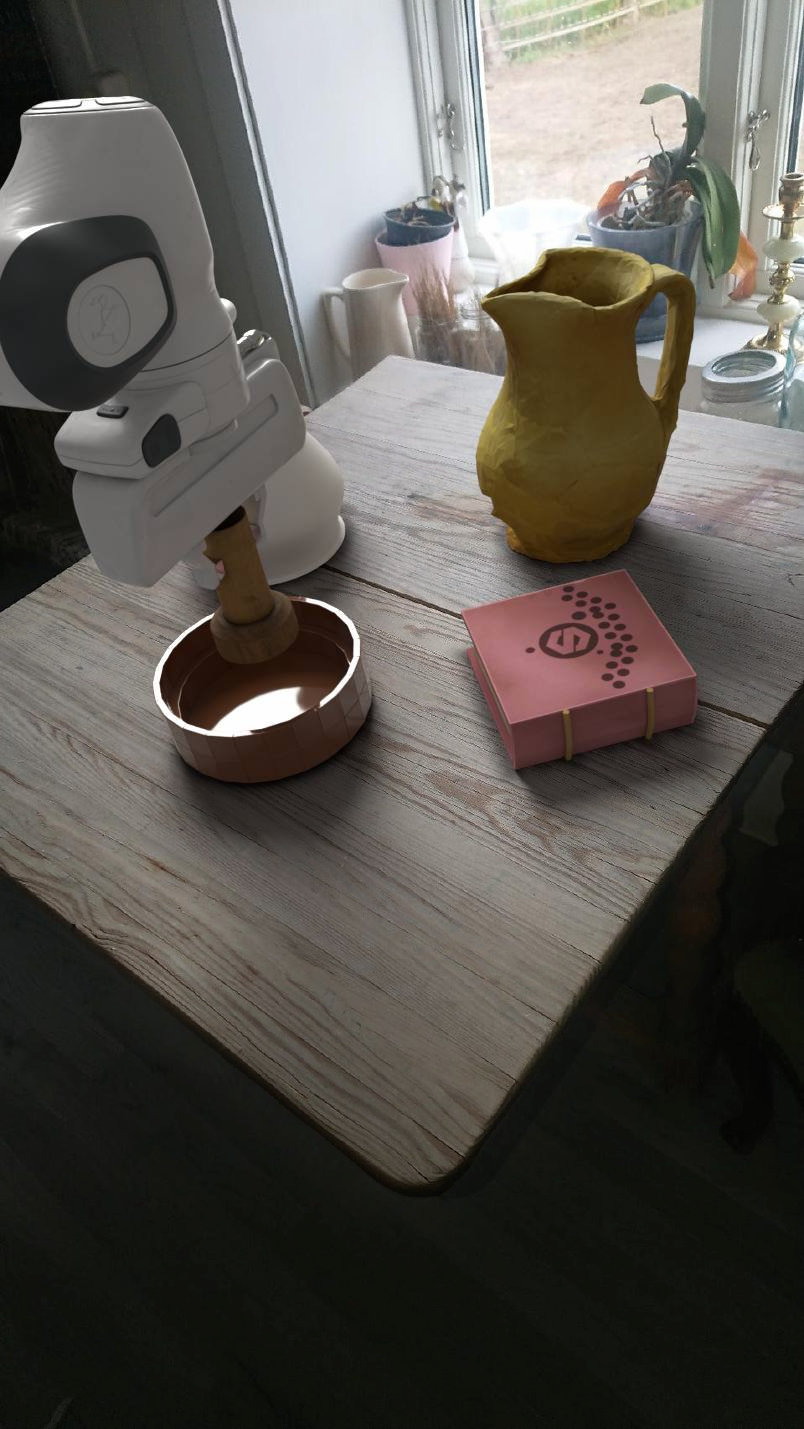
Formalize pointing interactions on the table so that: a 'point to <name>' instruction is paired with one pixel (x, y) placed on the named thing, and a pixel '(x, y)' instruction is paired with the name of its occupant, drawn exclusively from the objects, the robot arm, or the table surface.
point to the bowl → (265, 698)
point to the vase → (301, 510)
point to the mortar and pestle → (247, 598)
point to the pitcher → (581, 401)
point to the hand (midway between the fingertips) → (233, 563)
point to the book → (578, 668)
